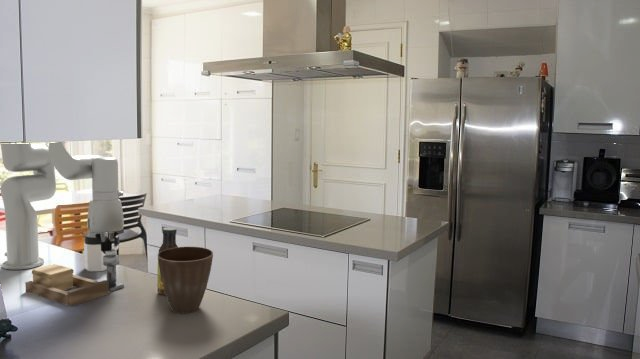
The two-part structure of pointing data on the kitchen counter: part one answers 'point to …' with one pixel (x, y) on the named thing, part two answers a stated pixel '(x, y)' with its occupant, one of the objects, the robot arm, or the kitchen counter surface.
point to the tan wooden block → (54, 276)
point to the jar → (93, 254)
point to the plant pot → (185, 276)
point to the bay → (84, 292)
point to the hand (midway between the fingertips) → (106, 252)
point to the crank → (113, 248)
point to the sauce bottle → (168, 243)
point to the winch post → (112, 272)
